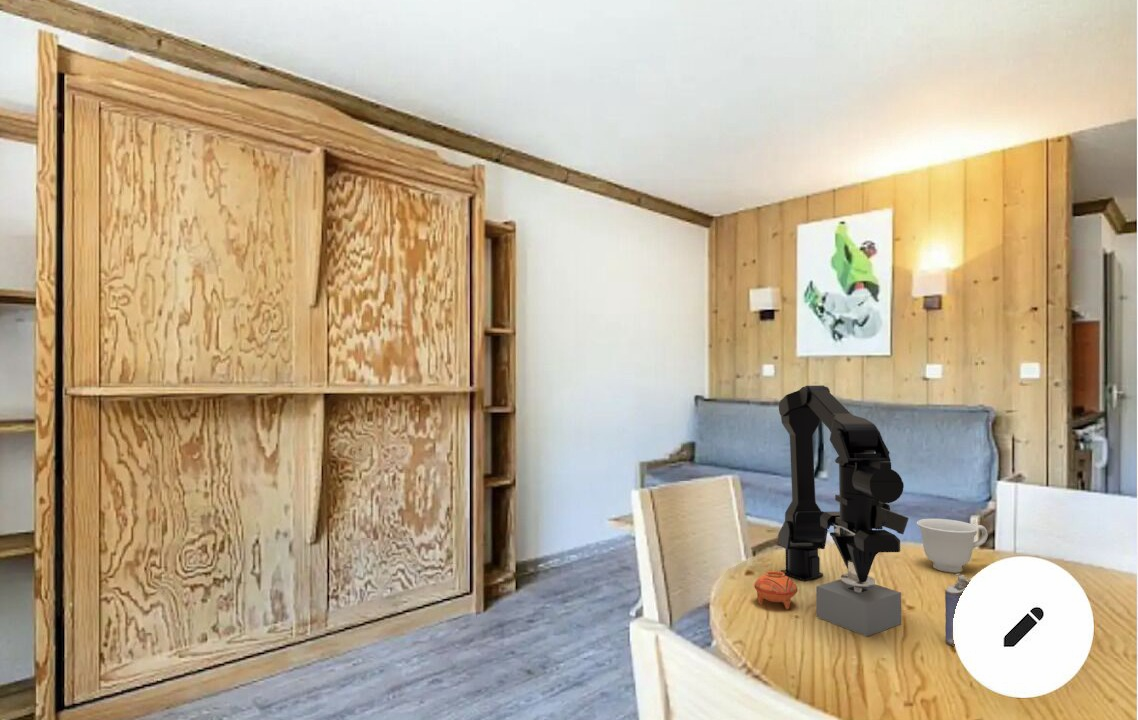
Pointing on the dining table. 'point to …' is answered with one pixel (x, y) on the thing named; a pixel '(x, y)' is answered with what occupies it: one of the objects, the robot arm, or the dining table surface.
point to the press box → (859, 607)
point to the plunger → (856, 579)
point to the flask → (953, 605)
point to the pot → (775, 588)
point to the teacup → (949, 542)
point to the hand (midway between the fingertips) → (857, 578)
